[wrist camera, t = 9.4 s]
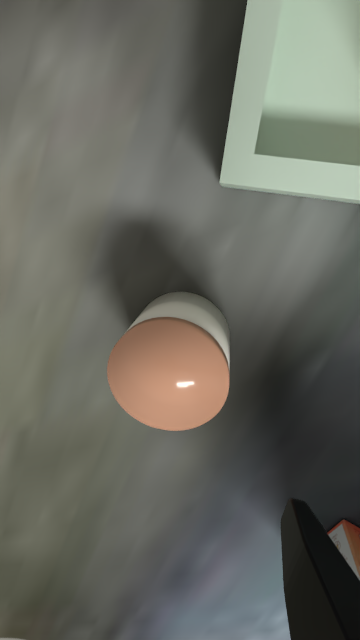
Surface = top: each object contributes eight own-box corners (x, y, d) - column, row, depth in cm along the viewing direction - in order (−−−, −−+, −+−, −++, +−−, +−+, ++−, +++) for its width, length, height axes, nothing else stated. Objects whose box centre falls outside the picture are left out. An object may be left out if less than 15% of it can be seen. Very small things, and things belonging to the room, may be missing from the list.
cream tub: (238, 300, 18) (240, 335, 13) (220, 385, 21) (217, 441, 16) (140, 284, 19) (109, 312, 14) (133, 368, 21) (105, 417, 16)
